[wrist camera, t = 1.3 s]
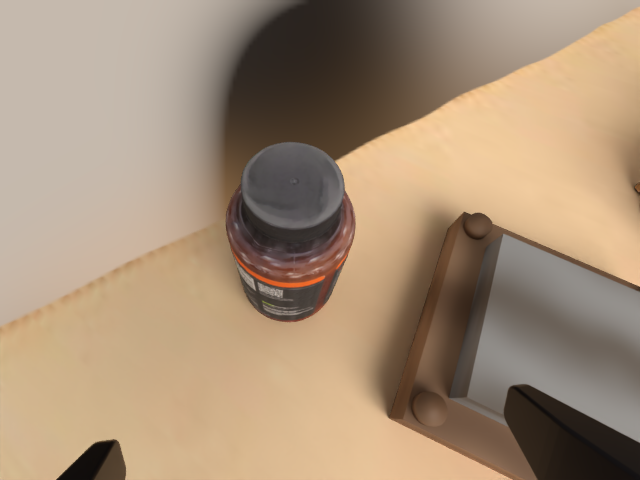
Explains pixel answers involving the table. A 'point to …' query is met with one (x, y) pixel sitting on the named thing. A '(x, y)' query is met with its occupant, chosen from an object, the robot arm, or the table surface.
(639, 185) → the lion figurine
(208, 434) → the table surface
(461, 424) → the tower base
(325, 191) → the supplement bottle
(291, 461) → the table surface
